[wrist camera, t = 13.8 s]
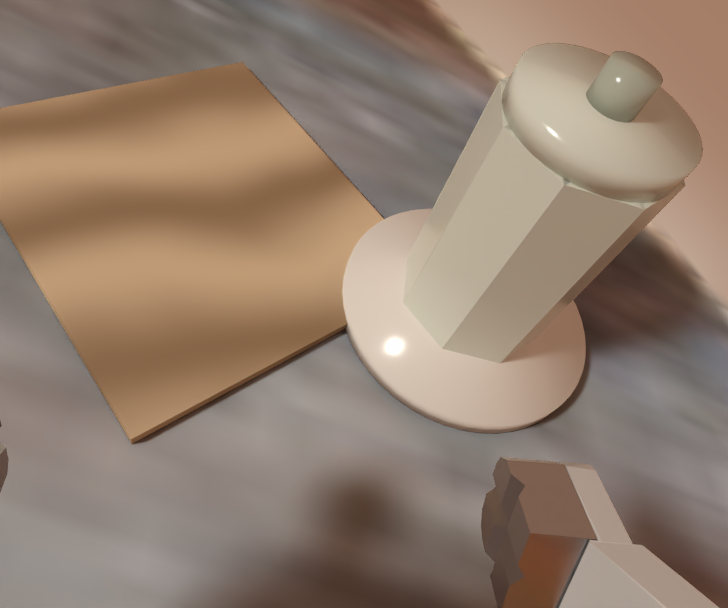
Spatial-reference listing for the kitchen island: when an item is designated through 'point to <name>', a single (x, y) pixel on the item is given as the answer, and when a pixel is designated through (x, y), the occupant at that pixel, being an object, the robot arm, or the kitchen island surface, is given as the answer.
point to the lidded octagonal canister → (546, 196)
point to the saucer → (443, 367)
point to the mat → (179, 234)
